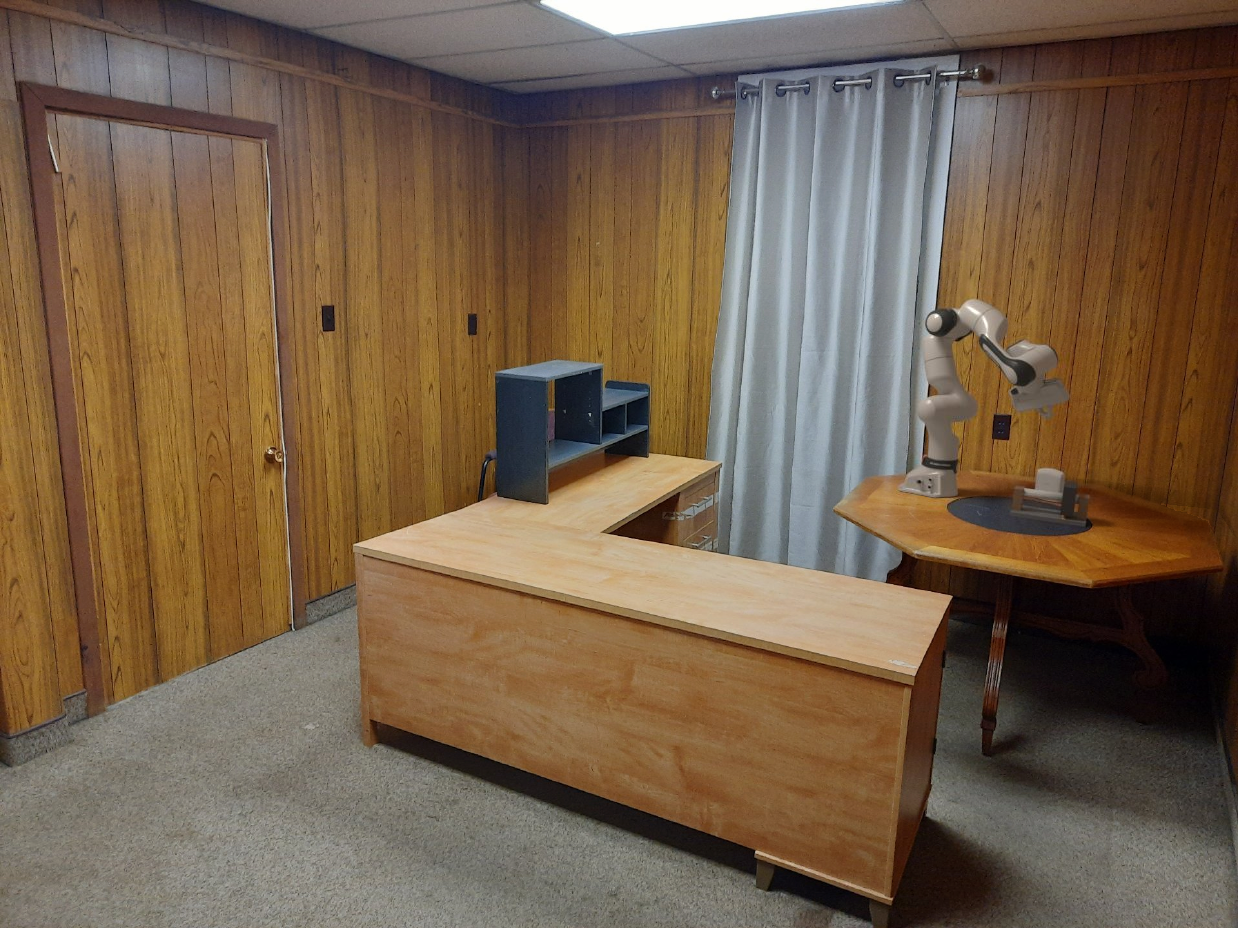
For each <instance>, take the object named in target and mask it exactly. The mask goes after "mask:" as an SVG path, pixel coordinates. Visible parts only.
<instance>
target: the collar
mask: <svg viewBox="0 0 1238 928" xmlns="http://www.w3.org/2000/svg"><path fill="white" fill-rule="evenodd" d="M1078 486H1079V482H1078V481H1077V482H1076V481H1072V480H1070V481H1069V480H1065V481H1064V489H1063V497H1062V502H1061V504H1060V505H1061V506H1060V510H1059V511H1060V514H1061V515H1068V516H1073V513H1075V507H1076V506H1075V505H1076V503H1075V498H1076V495H1077V492H1078Z"/></svg>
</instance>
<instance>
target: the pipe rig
mask: <svg viewBox="0 0 1238 928" xmlns="http://www.w3.org/2000/svg"><path fill="white" fill-rule="evenodd" d="M1090 496H1091V495H1090V494H1085V493H1080V494H1079V495H1078V494H1076V498H1075V505H1076V504H1078V506H1077V512H1074V513H1073V516H1068V515H1061V514H1060V511H1061V510H1057V509H1052V508H1051V509H1049V508H1042V507H1037V506H1036V507H1035V506H1029V505H1023V503H1024V497H1025V498H1033V499H1038V498H1039V500H1043V499H1047V500H1046V501H1048V500H1054V501H1062V497H1063V493H1058V492H1050V491H1042V490H1035V488H1033V489H1032V488H1026V487H1025V486H1024V485H1023V486H1022V485H1015V486H1014V489H1013V496H1012V502H1011V503H1012V505H1011V510H1010V513H1009V517H1012V516H1013V517H1012V518H1019V519H1027V520H1033V521H1040V522H1047V521H1048V523H1055V524H1062V525H1069V526H1074V525H1075V526H1076V527H1083V528H1086V524H1087V517H1088V511H1089V504H1090Z"/></svg>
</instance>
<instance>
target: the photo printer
mask: <svg viewBox="0 0 1238 928" xmlns="http://www.w3.org/2000/svg"><path fill="white" fill-rule="evenodd" d="M1065 481H1066V475H1065V473H1064V472H1063V471H1061V470H1058V469H1055V468H1051V467H1043V468H1038V469H1037V472H1036V477H1035V483H1034V484H1035V485H1034V486H1035V487H1034V489H1035V490H1042V491H1050V492H1058V493H1063V489H1064V485H1065ZM1037 499H1039V498H1037ZM1039 500H1040V499H1039ZM1042 500H1043V501H1048V502H1053V503H1058V504H1059V503H1061V504H1062V501H1054V500H1047V499H1042Z"/></svg>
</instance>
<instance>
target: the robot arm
mask: <svg viewBox="0 0 1238 928" xmlns="http://www.w3.org/2000/svg"><path fill="white" fill-rule="evenodd" d="M924 325H925V326H924V327H925V329H926V332H927V335H926V336H924V337H923V340H922V357H923V365H924V371H925V376H926V381H927V383H928V385H930V386H932V387H933V388H934V389H935V390H936V391H937V393H938V394H937V395H932V396H931V395H930V396H928V397H924V398H922V399H921V400H920V401H919V403H918V405H917V408H916V409H917V411H916V412H917V415H918V418H919V420H921V422H923V424H924V426H925V427H926V430H927V434H928V449H927V450H928V451H927V454H924V455H923V456H922V457H921V464H920V465H919V466H917V467H915V468H913V469H912V470H910V471H908V472H907V475H906V476H905V479H904V482H901V483H899V485H898V487H897V489H898V491H900V492H903V493H909V494H914V495H920V496H925V497H929V498H937V499H938V498H949V497H957V496H958V495H959V491H958V490H959V489H958V484H957V474H958V471H959V461H960V460H959V458H958V457H959V451H960V450H959V448H960V439H959V436H957V435H956V434H955V433H954V431H953V429H952V423H963V422H966V421H968V420H971V419H973V418H974V417H976V415H977V413H978V410H979V407H978V406H979V404H978V402H977V400H976V398H975V397H974V396H972V395H971V394H970V393H969V392H968V391H967V390H966V389H965V387H964V386H963V384H962V382H961V381H960V377H959V375H958V371H957V367H956V361H955V357H954V352H953V344H954V343H955V342H956V343H957V342H960V341H961V340H962V341H963V339H965V338H967V337H968V336H970V335H972V334H973V333H974V334H976V335H977V336H978V345H979V347H980V348H981V350H982V351H983V353H985V355H986V356H987V357H988V358H989V359H990V360H991V361H992V363H994V364H995V365H996V366H997V368H998V369H999V370H1000V371H1001V372H1002V374H1003V375H1004V376H1005V378H1006V379H1007V381H1008V382H1009V383H1010V384H1012V385H1014V386H1013V387H1012V388H1010V389H1009V390H1008V391H1007V392H1008V395H1009V396H1011V397H1010V400H1011V403H1012V406H1013V408H1014V411H1015V412H1017V413H1019V414H1020V413H1025V412H1028V411H1033V410H1036V412H1037V413H1038V414H1039V415H1040V416H1042V418H1043V419H1045V420H1046V419H1051V418H1053V417H1054V414H1053V407H1054V406H1055V405H1058V404H1059V405H1060V404H1063V403H1066V402H1068V400H1070V397H1071V394H1070V393H1069V390H1068V389H1067V388H1066V386H1065V385H1064V382H1063V381H1062V379H1060V378H1057V377H1052V378H1048V379H1047V378H1046V376H1045V374H1047V373H1048V372H1051V370H1053V369H1055V368H1056V367H1057V366H1058V363H1059V356H1058V353H1057V351H1056V349H1055V348H1053V347H1052V346H1051V345H1049V344H1035V343H1031V342H1030V341H1029V340H1027V339H1020V340H1018V341H1017V342H1015V343H1012V344H1011V345H1009V346H1008V347H1007V348H1006V349H1004V348H1003V347H1002V346H1001V345H1000V343H1001V342H1002V341H1003V340H1004V338H1005V337H1006V335H1007V333H1008V329H1009V320H1008V318H1007V317H1006V315H1005V314H1004V313H1003V312H1001V311H1000V310H998V309H997V308H996V307H994V306H992V305H991V304H989V303H987V302H984V301H983V300H980V299H978V298H971V299H968V300H967V301H965V302H964V303H963V304H962V305H961V307H960V308H954V307H953V308H938V309H934V310H932V311H931V312H929V313H928V314H927V316H926V318H925V321H924ZM1044 408H1045V410H1047V411H1045V410H1044Z"/></svg>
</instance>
